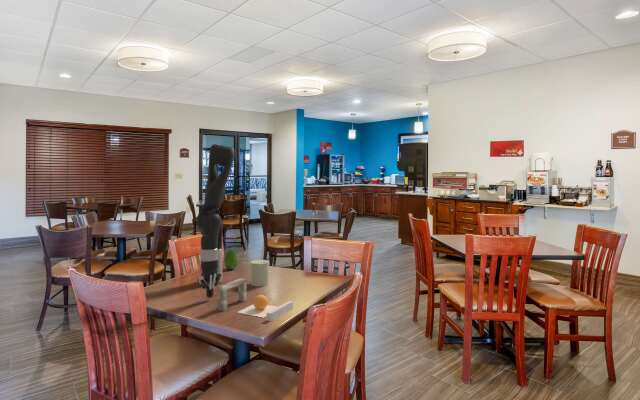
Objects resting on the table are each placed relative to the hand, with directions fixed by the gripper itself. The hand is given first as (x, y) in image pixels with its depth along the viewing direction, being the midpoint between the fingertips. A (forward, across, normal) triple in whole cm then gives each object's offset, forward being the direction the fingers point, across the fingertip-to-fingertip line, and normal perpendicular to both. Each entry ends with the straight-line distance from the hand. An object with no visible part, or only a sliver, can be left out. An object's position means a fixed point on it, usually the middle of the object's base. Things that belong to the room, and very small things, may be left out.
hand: (210, 297), depth 173 cm
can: (+2, -32, +4) cm, 32 cm away
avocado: (+2, -50, -30) cm, 58 cm away
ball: (-2, -1, +27) cm, 27 cm away
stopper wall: (+2, 0, +37) cm, 37 cm away
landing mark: (+2, 0, +27) cm, 27 cm away
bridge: (+2, 0, +13) cm, 13 cm away
